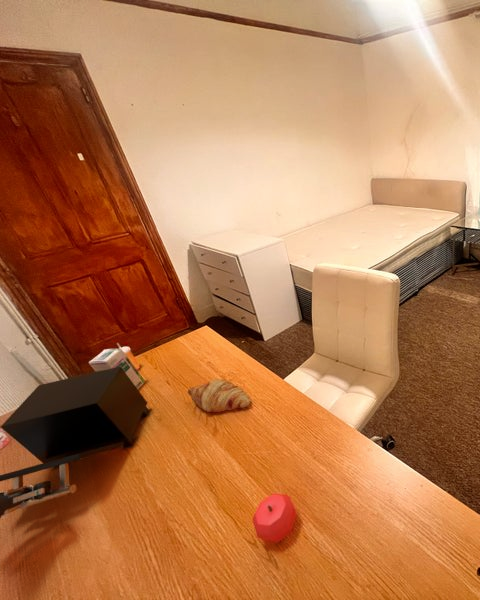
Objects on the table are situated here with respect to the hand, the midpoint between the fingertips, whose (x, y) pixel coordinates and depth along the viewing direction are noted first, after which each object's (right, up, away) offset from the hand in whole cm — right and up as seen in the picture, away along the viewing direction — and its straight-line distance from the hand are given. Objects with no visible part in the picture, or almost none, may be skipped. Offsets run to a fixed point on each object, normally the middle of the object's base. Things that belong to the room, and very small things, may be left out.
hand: (46, 486), depth 65 cm
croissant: (+22, +9, +26) cm, 35 cm away
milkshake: (-17, +16, +42) cm, 48 cm away
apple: (+51, -6, -3) cm, 51 cm away
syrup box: (-11, +11, +34) cm, 37 cm away
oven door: (-2, -2, +10) cm, 10 cm away
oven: (-5, +2, +18) cm, 19 cm away
